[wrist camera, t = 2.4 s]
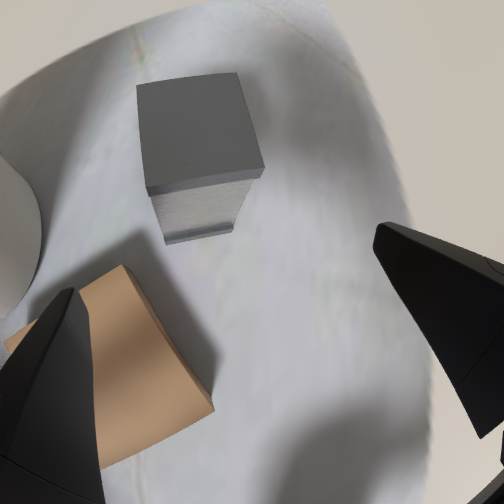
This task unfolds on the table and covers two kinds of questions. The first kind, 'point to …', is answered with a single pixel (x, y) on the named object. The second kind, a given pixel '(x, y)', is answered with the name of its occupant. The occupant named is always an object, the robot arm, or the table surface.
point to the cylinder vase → (17, 237)
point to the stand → (133, 370)
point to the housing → (197, 153)
